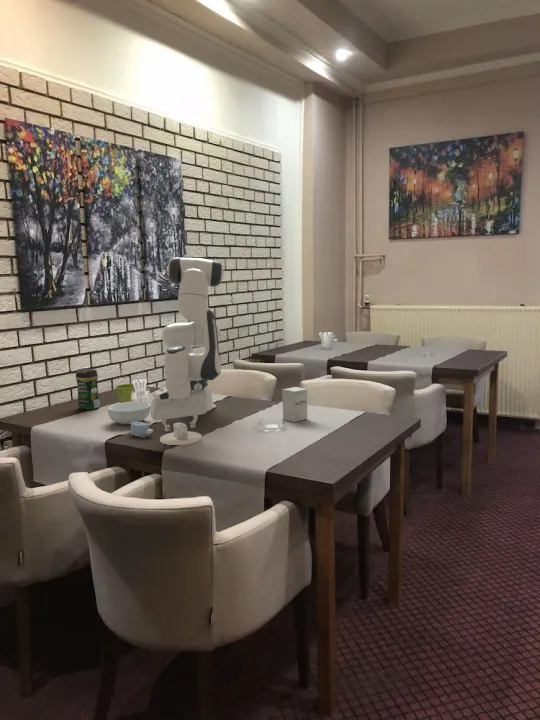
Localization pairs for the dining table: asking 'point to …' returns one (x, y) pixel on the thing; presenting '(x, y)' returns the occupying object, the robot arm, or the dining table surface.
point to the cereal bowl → (129, 412)
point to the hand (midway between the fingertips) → (180, 428)
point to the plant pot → (124, 392)
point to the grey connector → (180, 431)
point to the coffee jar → (87, 389)
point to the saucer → (171, 440)
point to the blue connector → (140, 429)
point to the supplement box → (294, 404)
